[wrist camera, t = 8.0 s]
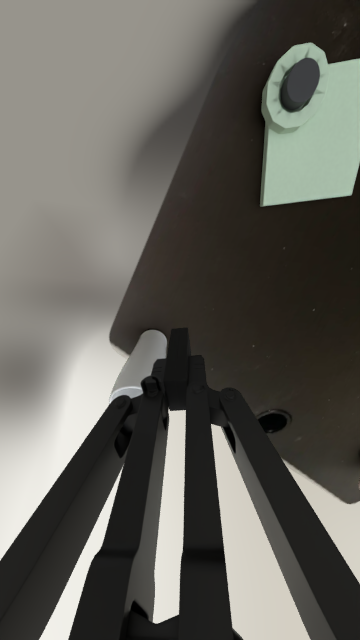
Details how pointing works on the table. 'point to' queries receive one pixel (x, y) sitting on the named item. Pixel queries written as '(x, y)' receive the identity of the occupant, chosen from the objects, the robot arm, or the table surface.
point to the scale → (311, 133)
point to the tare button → (300, 83)
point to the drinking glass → (140, 364)
